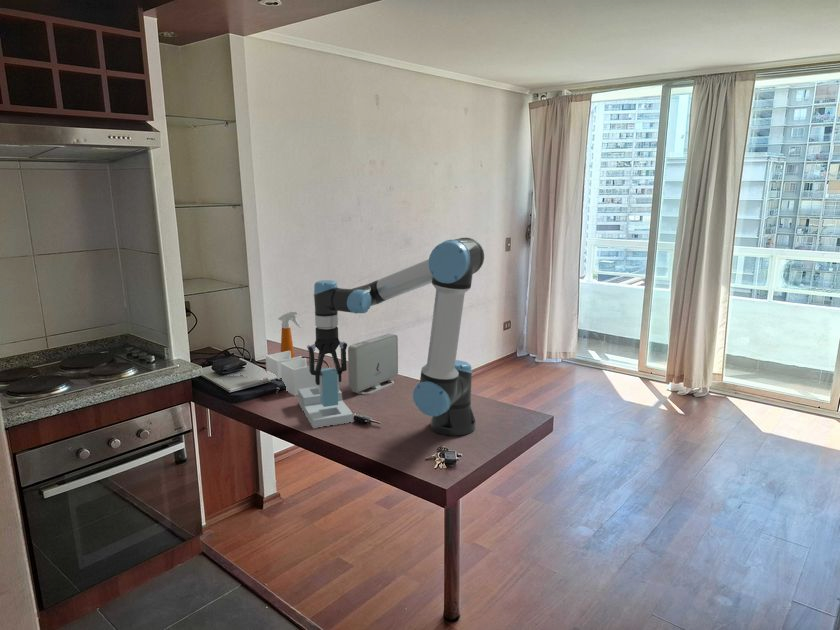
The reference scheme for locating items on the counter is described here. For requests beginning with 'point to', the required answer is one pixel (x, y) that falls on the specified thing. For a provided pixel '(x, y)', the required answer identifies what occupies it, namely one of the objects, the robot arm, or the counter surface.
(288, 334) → the spray bottle
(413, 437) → the counter surface
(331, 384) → the plug
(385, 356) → the network device
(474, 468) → the counter surface
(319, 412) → the panel
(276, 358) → the storage container
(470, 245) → the robot arm
